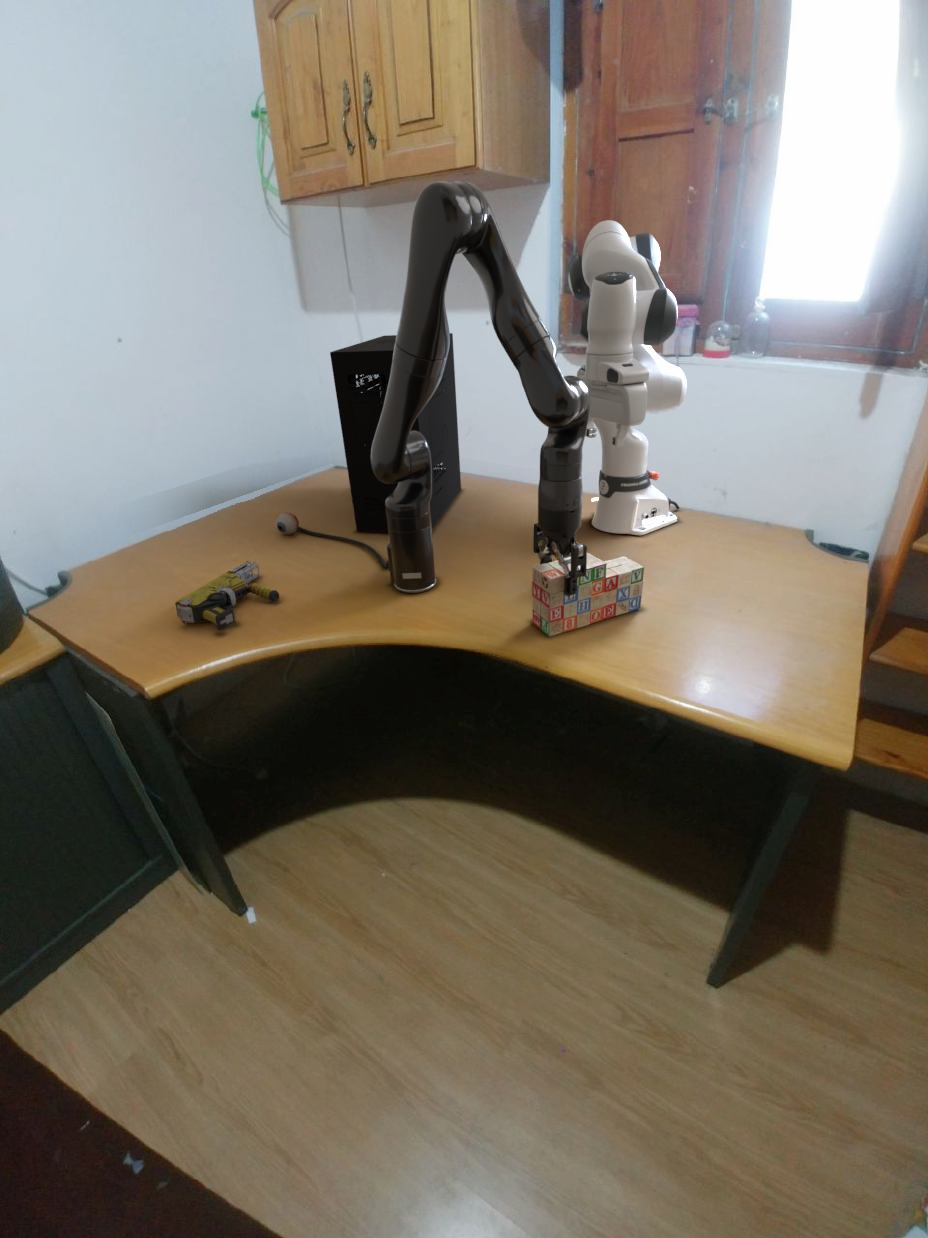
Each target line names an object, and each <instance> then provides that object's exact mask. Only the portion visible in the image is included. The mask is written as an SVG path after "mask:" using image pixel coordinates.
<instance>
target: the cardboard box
mask: <svg viewBox="0 0 928 1238" xmlns="http://www.w3.org/2000/svg"><path fill="white" fill-rule="evenodd" d="M396 336H397V334H391V335H388V334H387V335H382V336H381V335H380V336H378V337H375V338H372V339H368V340H365V341H361V342H359V343H356V344H353V345H349V346H345V347H343V348H342V347H341V348H339V349H336V350H333V351H330V352H329V355H330V361H331V362H330V363H331V369H332V375H333V381H334V382H333V383H334V388H335V396H336V401H337V408H338V415H339V422H340V426H341V427H340V429H341V436H342V441H343V449H344V456H345V461H346V468H347V475H348V481H349V482H348V483H349V488H350V495H351V496H350V497H351V501H352V508H353V515H354V522H355V528H356V532H358V533H379V534H389V532H388V524H387V516H386V508H385V501H386V498H387V497H388V496H389V495H390V494H391V493H392V492H393V491H394V490H395V488H396V487H397V485H398V483H394V484H385V483H383V482H381V481H379V480H378V479H377V477H376V476H375V474H374V472H373V469H372V465H371V448H372V443H373V440H374V436H375V433H376V429H377V426H378V423H379V420H380V416H381V413H382V409H383V405H384V400H385V396H386V391H387V386H388V382H389V377H390V371H391V364H392V357H393V352H394V346H395V341H396ZM454 353H455V352H454V334H453V332H451V333H450V345H449V351H448V356H447V360H446V364H445V368H444V372H443V375H442V378H441V381H440V383H439V385H438V387H437V389H436V390H435V392H434V394H433V395H432V397H431V398H430V400H429V401H428V402H427V404H426V405H425V407H424V408H423V409H422V411H421V412H420V414H419V415H418V417H417V418H416V420H415V422H414V424H413V426H412V428H411V430H416V431H418V432H420V433H421V434H422V435H423V436H424V438H425V439H426V441H427V443H428V446H429V449H430V454H431V467H432V497H431V500H430V516H431V527H432V530H433V529H434V527H435V526H436V525H437V523H438V522H439V521H440V519H441V518H442V516H443V515H444V514H445V513H446V511H447V509H448V508H449V507H450V506H451V504H452V503H453V501H454V500H455V499H456V498H457V496H458V495H459V493H460V492H461V491H462V481H461V461H460V443H459V427H458V426H459V425H458V409H457V391H456V390H457V389H456V388H457V387H456V371H455V356H454V355H455V354H454Z"/></svg>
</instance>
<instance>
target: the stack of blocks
mask: <svg viewBox="0 0 928 1238" xmlns="http://www.w3.org/2000/svg"><path fill="white" fill-rule="evenodd" d="M568 559H571V557H568V558H564V560H568ZM568 567H569V570H570V571H571V564H568ZM578 567H579V570H580V565H579V566H578ZM644 573H645V567H644V566H643V565H642V564H640V563H637V562H636V561H633V559H630V558H628V557H627V556H624V555H623V556H620V557H615V558H613V559H609V560H605V561H604V560H602V559H600V558H598V557H597V556H594V555H592V554H591V553H589V552H588V551H587V565H586V576H582V577H579V578H577V592H576V594H574V595H571V596H566V595H565V594H564V578H565V574H564V570H563V567H561V566H560V565H559V563H558V560H557V561H556V560H552V562H549V563H545V564H541V565H540V564H537V565H534V566H532V582H531V590H532V591H531V595H532V623H533V624H534V625H535V627H537V628H538V629H540V630H541V631H542V632H543V633H544V634H545V635H547V636H548V637H552V636H556V635H559V634H563V633H566V632H567V633H568V632H569V631H573V630H576V629H581V628H583V627H586V626H589V625H590V624H595V623H597V622H600V621H603V620H607V619H611V618H613V617H617V616H620V615H624V614H628V613H630V612H633V611H636V610H640V609H641V606H642V597H643V596H642V595H643V588H644Z"/></svg>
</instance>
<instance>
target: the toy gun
mask: <svg viewBox="0 0 928 1238" xmlns="http://www.w3.org/2000/svg"><path fill="white" fill-rule="evenodd" d="M251 562H252V561H251V560H247V561H245V562H244V563H242V564H240V565H239V566H237V567H235V568H234V569H232V570H228V571H226V572H225V573H223V574H221V575H220V576H218V577H216V578H214V579H212V580H211V581H209V582H207V583H205V584H203V585H202V586H201V587H199V588H197V589H195V590H193V591H192V592H189V594H187V595H185V596H183V597H181V598H180V599H178V600H176V601H175V603H174V606H175V610H176V615H177V617H178V618H179V620H181V622H182V623H183V624H185V623H186V624H187V625H189V624H192V623H193V624H198V623H199V624H200V623H204V622H207V621H209V622H212V623H213V624H215V625H216V628H217V631H222V630H224V629H226V628H228V627H230V626H231V625H233V624H235V623H236V619H235V611H234V609H233V607H234V606H236V605H237V600H239V599H241V598H242V597H245V596H247V595H249V594H252V595H255V596H258V597H259V598H263V599H265V600H268V601H270V602H272V603H275V602H277V601H278V600H279V599H280V593H279V591H278V590H276V589H271V588H269V587H268V588H267V587H266V586H263V585H262V584H261V585H260V584H258V583H256V582H254V583H252V584H251V585H248V584H249V583H250V582H253V581H254V580H255V579H257V578H259V577H260V567H259V564H258V563H257V562H256V561H253V562H252V563H251ZM256 569H257V573H254V571H255V570H256Z"/></svg>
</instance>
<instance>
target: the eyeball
mask: <svg viewBox="0 0 928 1238" xmlns="http://www.w3.org/2000/svg"><path fill="white" fill-rule="evenodd" d="M299 525H300V522H299V519H298V517H297V516H296V515H295V514H294V513H292V512H287V511H286V512H282V513H280V514H279V515H278V516H277V517H276V520H275V527H276V529H277V530H278V531H279V532H280V533H281V534H282V535H285V536H286V535H287V536H289V535H293V534H295V533H296V532H297V531H298V527H300V526H299Z"/></svg>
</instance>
